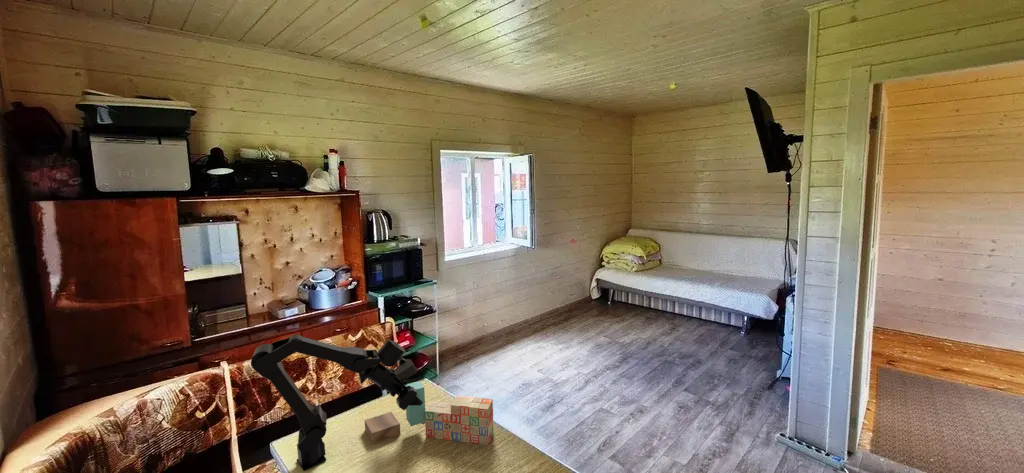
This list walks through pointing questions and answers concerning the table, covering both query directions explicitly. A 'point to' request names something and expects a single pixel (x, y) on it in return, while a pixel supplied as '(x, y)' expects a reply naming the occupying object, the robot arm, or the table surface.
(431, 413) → the stack of blocks
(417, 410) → the teal block
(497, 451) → the table surface
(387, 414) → the walnut block
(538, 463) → the table surface
